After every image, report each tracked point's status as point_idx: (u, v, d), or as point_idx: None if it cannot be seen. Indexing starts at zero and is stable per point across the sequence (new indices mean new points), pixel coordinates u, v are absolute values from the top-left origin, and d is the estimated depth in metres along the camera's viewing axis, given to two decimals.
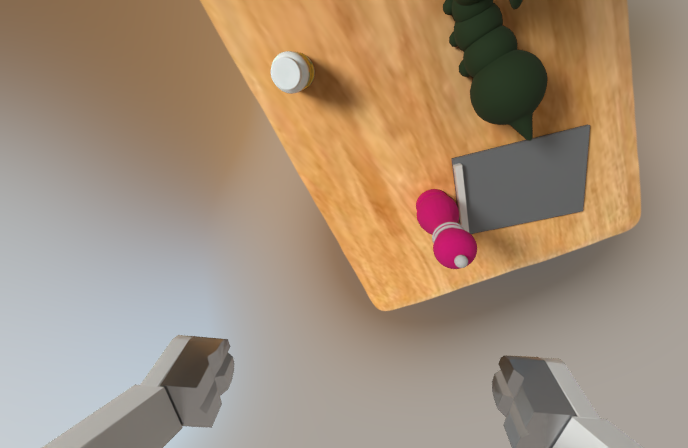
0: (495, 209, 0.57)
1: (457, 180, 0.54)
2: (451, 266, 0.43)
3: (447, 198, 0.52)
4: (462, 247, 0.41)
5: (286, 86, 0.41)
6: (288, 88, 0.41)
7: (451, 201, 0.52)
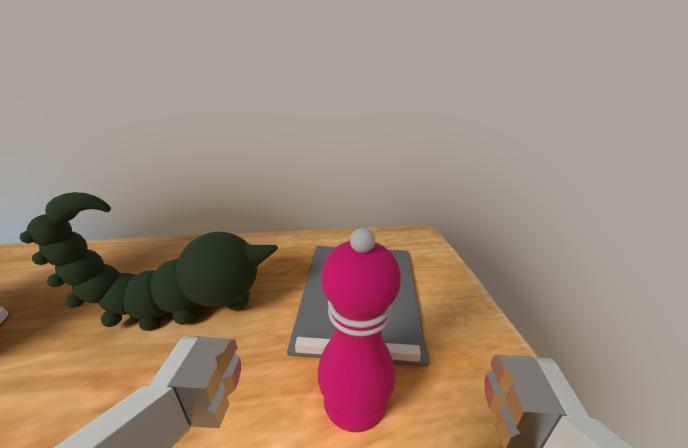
0: None
1: (318, 346, 0.34)
2: (382, 264, 0.21)
3: None
4: (341, 246, 0.22)
5: None
6: None
7: None
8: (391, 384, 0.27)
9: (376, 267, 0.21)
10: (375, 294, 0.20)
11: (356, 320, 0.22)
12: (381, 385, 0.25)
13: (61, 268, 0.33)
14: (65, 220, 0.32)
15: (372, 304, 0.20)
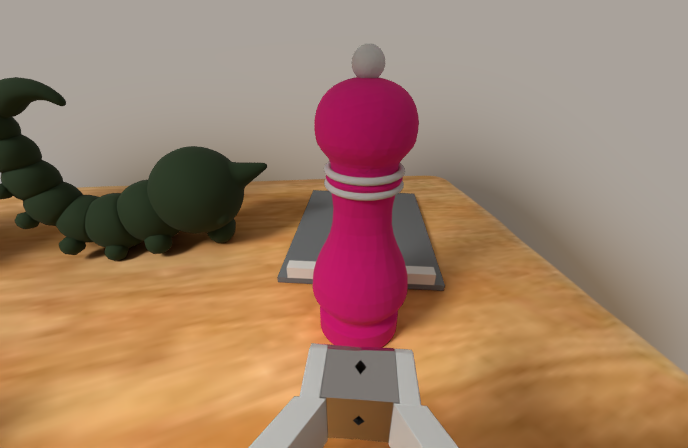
0: None
1: None
2: (395, 88, 0.16)
3: None
4: None
5: None
6: None
7: None
8: (404, 286, 0.21)
9: (387, 88, 0.15)
10: (387, 121, 0.15)
11: (360, 178, 0.17)
12: (392, 281, 0.20)
13: (7, 175, 0.28)
14: (9, 112, 0.26)
15: (382, 137, 0.15)
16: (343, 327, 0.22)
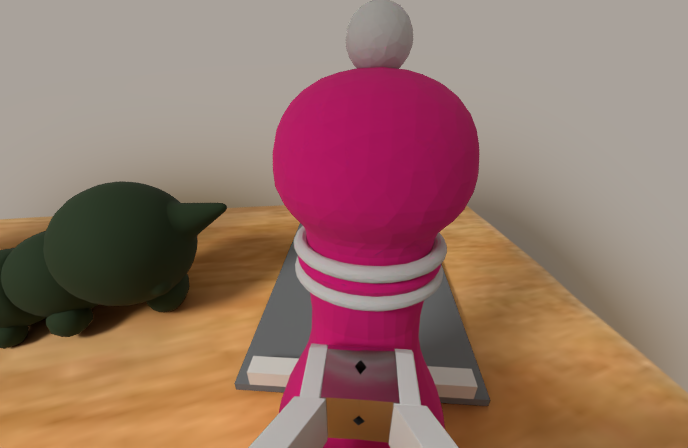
0: None
1: (289, 373, 0.19)
2: (438, 85, 0.07)
3: None
4: None
5: None
6: None
7: None
8: None
9: (423, 83, 0.07)
10: (425, 151, 0.06)
11: (364, 266, 0.08)
12: None
13: None
14: None
15: (415, 187, 0.07)
16: None
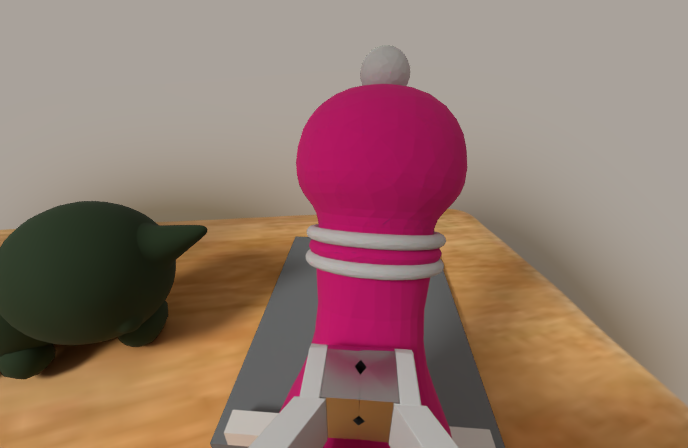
0: None
1: None
2: None
3: None
4: None
5: None
6: None
7: None
8: None
9: (419, 90, 0.09)
10: (424, 125, 0.08)
11: (372, 236, 0.09)
12: None
13: None
14: None
15: (417, 151, 0.08)
16: None
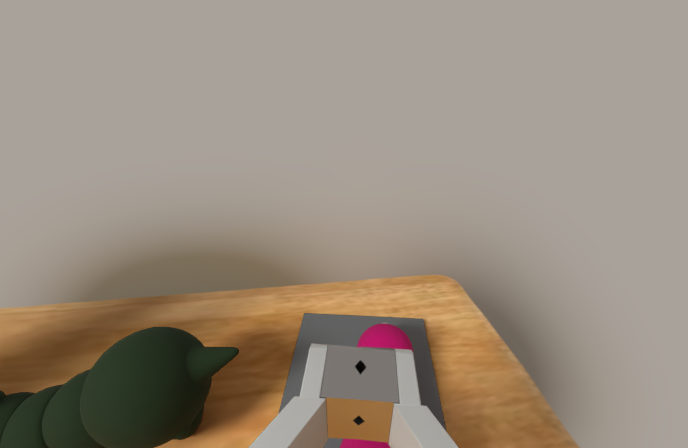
0: None
1: None
2: None
3: None
4: None
5: None
6: None
7: None
8: None
9: None
10: (406, 335, 0.32)
11: None
12: None
13: None
14: None
15: (406, 338, 0.31)
16: None
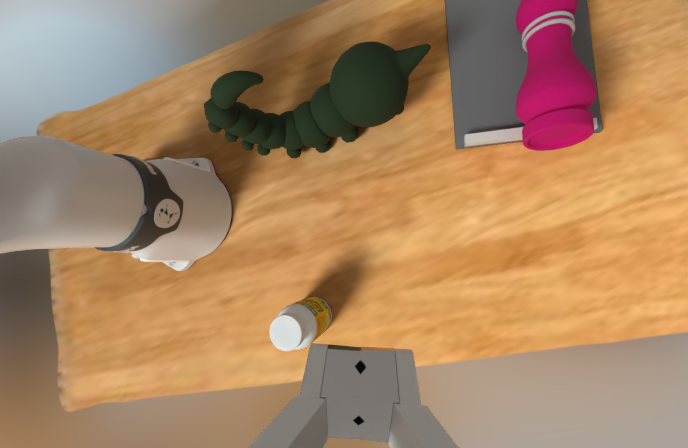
0: None
1: (488, 139, 0.37)
2: None
3: (516, 100, 0.34)
4: None
5: (297, 337, 0.34)
6: (300, 335, 0.34)
7: None
8: None
9: None
10: None
11: (562, 14, 0.33)
12: None
13: (248, 137, 0.37)
14: (234, 104, 0.32)
15: None
16: (568, 108, 0.30)
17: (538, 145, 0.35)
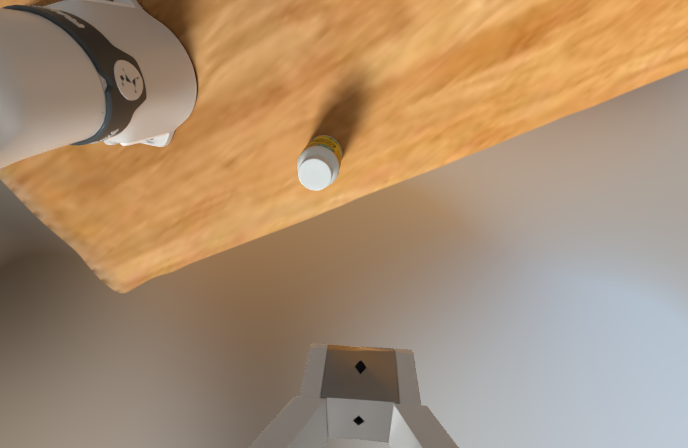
0: None
1: None
2: None
3: None
4: None
5: (327, 175, 0.35)
6: (329, 173, 0.35)
7: None
8: None
9: None
10: None
11: None
12: None
13: None
14: None
15: None
16: None
17: None
